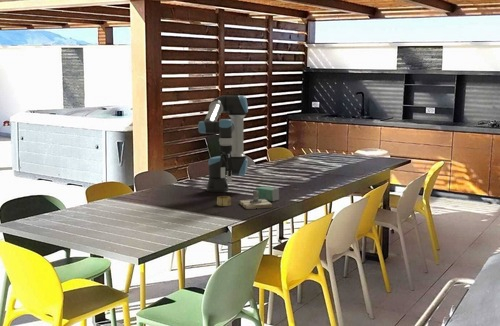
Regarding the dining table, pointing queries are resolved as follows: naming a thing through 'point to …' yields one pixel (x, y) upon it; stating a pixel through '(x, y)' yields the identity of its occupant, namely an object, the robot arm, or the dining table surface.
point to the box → (268, 193)
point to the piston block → (255, 202)
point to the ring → (223, 201)
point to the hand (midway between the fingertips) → (226, 179)
